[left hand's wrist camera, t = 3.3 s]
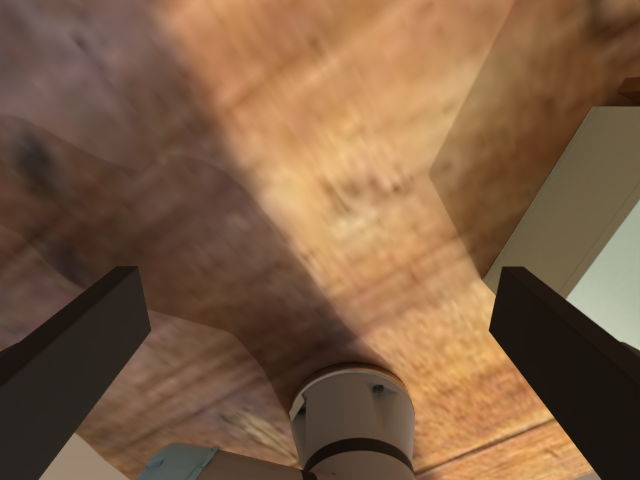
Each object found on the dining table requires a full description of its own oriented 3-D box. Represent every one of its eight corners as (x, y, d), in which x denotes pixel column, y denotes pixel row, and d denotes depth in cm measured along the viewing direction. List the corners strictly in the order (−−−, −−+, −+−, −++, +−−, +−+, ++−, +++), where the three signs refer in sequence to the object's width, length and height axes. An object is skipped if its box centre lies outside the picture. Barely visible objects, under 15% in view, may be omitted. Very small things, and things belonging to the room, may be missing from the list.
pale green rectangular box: (592, 106, 31) (708, 106, 22) (688, 151, 32) (837, 169, 23) (481, 280, 37) (535, 339, 28) (566, 312, 39) (644, 377, 29)
